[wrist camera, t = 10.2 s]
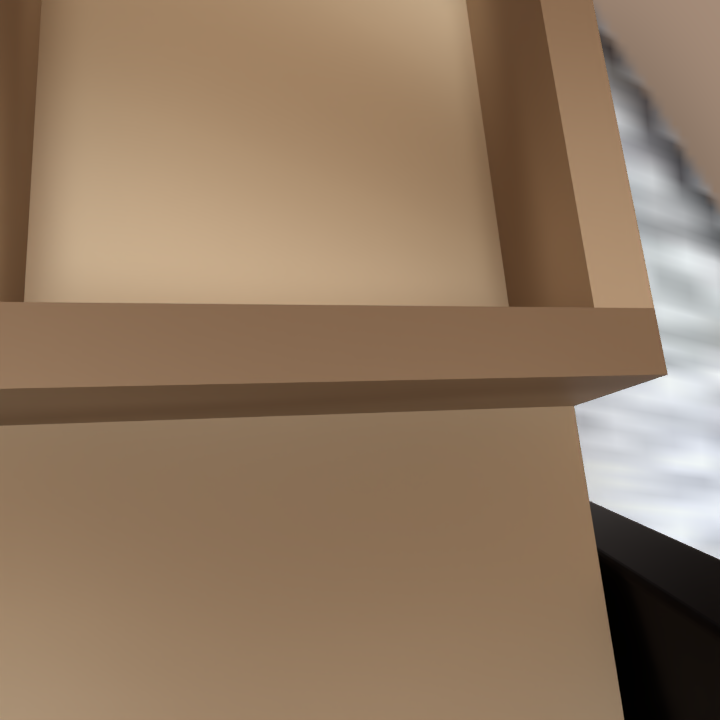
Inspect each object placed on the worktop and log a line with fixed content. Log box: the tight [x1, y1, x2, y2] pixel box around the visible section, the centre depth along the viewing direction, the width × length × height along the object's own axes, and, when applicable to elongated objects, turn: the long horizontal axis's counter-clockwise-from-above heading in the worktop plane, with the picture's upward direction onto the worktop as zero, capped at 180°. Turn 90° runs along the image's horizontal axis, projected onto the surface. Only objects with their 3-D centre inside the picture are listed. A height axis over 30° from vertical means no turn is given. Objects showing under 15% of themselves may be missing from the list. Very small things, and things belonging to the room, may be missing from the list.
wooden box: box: [0, 0, 667, 720], centre depth 9 cm, size 9×5×11 cm, turn 178°
